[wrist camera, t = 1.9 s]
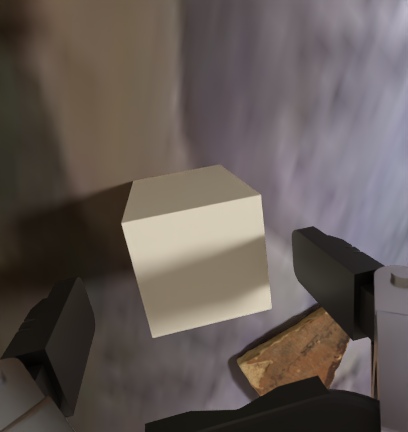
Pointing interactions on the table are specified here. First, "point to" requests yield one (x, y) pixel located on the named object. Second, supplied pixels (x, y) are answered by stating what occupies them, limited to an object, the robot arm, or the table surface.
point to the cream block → (197, 248)
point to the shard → (297, 354)
